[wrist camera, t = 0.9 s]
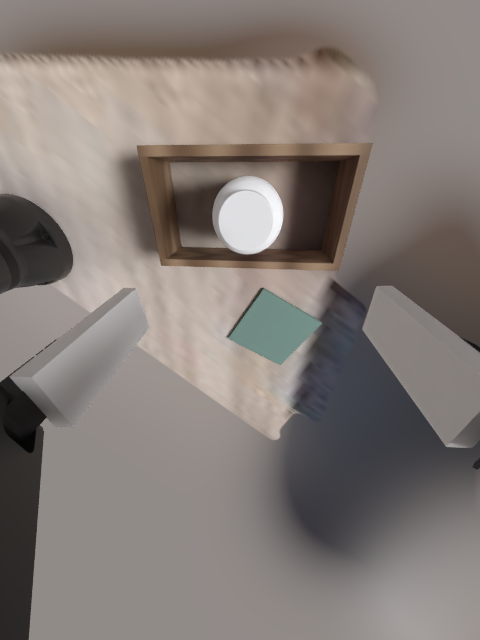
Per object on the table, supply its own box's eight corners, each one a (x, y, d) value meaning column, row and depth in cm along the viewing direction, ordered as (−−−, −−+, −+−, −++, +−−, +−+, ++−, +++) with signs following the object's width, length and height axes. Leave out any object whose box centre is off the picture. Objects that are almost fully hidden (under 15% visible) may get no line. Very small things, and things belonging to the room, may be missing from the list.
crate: (176, 252, 38) (161, 265, 32) (161, 153, 30) (136, 145, 24) (326, 256, 36) (338, 270, 30) (349, 151, 28) (372, 143, 22)
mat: (228, 337, 47) (228, 338, 46) (263, 287, 40) (263, 289, 39) (280, 363, 50) (280, 365, 49) (321, 321, 43) (321, 323, 42)
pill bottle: (242, 245, 36) (232, 276, 24) (215, 199, 33) (188, 208, 20) (285, 219, 33) (300, 238, 21) (261, 165, 30) (261, 152, 18)
